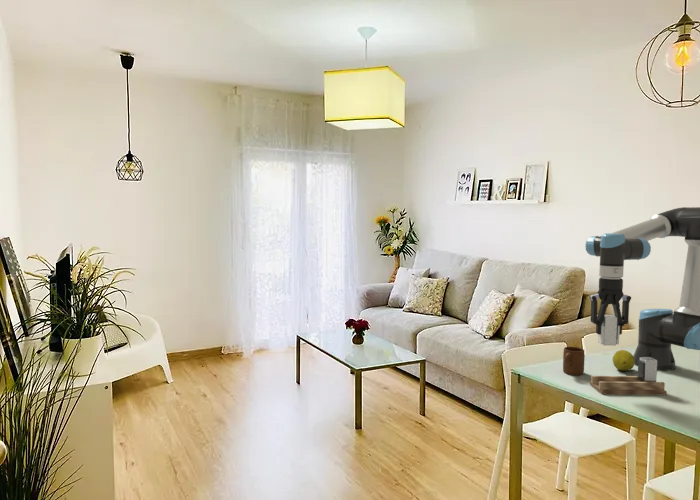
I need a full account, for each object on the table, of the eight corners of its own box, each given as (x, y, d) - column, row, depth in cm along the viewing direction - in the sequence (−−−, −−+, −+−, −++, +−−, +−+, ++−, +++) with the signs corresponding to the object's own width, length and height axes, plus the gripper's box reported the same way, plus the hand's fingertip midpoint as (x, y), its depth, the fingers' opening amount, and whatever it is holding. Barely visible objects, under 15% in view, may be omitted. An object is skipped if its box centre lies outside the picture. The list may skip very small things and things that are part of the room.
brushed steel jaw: (612, 342, 187) (613, 314, 186) (617, 345, 183) (618, 317, 182) (599, 342, 187) (600, 314, 187) (604, 345, 183) (605, 317, 183)
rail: (651, 385, 191) (651, 375, 191) (666, 394, 181) (667, 384, 181) (589, 384, 192) (589, 374, 191) (601, 394, 182) (601, 383, 181)
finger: (649, 384, 188) (651, 357, 187) (656, 388, 184) (657, 360, 183) (636, 384, 188) (638, 357, 187) (642, 388, 184) (643, 360, 183)
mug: (576, 380, 197) (576, 355, 196) (555, 375, 202) (556, 351, 201) (586, 372, 206) (587, 348, 205) (566, 368, 211) (567, 345, 210)
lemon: (614, 365, 215) (614, 346, 214) (635, 368, 210) (636, 349, 210) (609, 372, 206) (610, 352, 205) (632, 376, 201) (633, 355, 201)
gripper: (589, 279, 180) (587, 345, 182) (642, 279, 179) (639, 346, 181) (581, 276, 187) (578, 340, 189) (631, 276, 187) (628, 340, 189)
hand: (608, 343), depth 185 cm, fingers closed on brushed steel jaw, 5 cm apart
